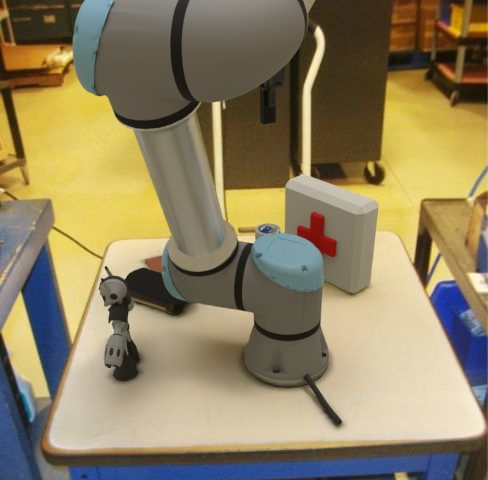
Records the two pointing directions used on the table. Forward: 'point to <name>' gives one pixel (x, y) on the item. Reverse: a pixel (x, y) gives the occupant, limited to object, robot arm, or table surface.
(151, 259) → the pad
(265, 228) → the beverage can
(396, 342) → the table surface
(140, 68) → the robot arm
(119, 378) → the robot
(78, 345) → the table surface
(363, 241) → the bevelled white case
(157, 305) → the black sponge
